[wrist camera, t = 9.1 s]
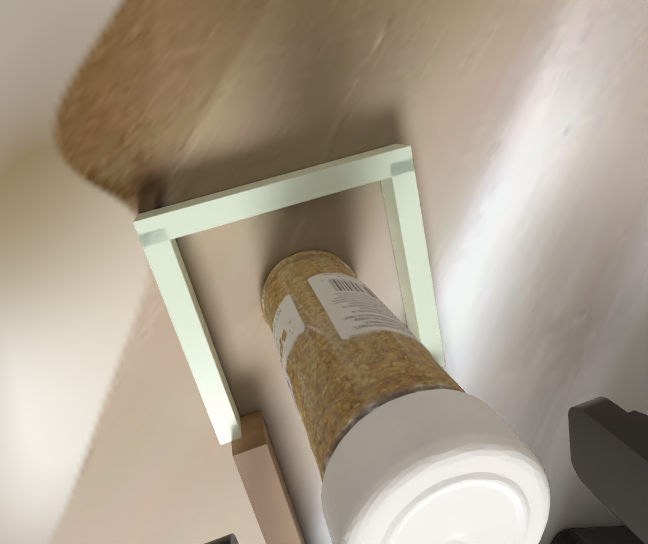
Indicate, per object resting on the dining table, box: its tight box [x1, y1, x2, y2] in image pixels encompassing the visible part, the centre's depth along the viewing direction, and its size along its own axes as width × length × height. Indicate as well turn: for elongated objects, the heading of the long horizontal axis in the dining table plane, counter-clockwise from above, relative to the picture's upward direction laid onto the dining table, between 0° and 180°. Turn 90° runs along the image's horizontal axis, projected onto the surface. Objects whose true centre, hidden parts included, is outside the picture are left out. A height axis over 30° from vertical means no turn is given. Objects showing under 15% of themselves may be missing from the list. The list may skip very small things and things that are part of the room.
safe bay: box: [133, 143, 445, 445], centre depth 21 cm, size 11×10×2 cm
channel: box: [231, 411, 306, 544], centre depth 25 cm, size 10×15×2 cm, turn 14°
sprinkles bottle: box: [261, 250, 550, 544], centre depth 15 cm, size 5×5×14 cm
